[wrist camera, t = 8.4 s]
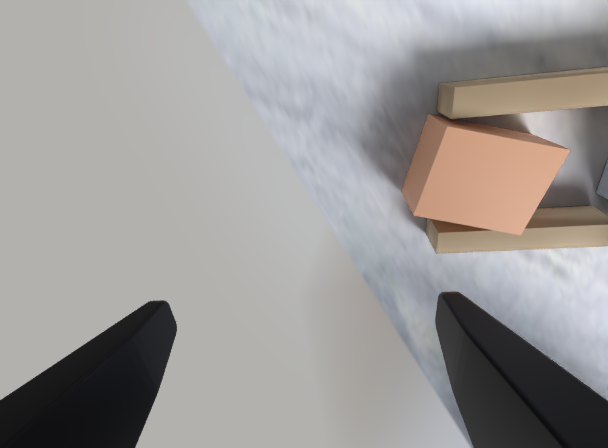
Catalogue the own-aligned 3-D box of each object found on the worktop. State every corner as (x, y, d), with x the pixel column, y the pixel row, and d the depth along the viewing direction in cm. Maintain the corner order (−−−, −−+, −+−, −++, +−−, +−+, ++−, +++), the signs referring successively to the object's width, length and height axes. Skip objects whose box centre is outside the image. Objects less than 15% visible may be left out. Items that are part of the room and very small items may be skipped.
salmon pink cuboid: (491, 207, 17) (520, 235, 15) (400, 190, 17) (413, 215, 14) (529, 133, 15) (570, 149, 13) (426, 113, 15) (447, 126, 13)
